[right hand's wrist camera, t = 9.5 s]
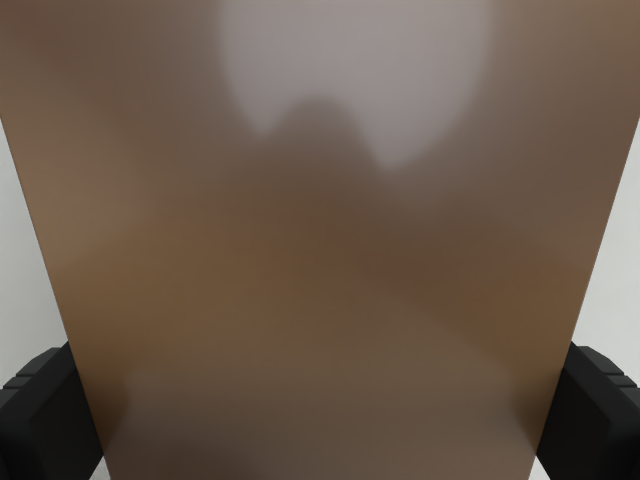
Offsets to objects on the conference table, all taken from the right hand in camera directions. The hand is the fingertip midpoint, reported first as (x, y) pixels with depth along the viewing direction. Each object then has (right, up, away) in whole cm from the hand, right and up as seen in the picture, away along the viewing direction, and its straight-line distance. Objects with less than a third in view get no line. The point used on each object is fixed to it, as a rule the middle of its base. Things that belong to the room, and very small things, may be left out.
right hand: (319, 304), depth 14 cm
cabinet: (0, +8, 0) cm, 8 cm away
